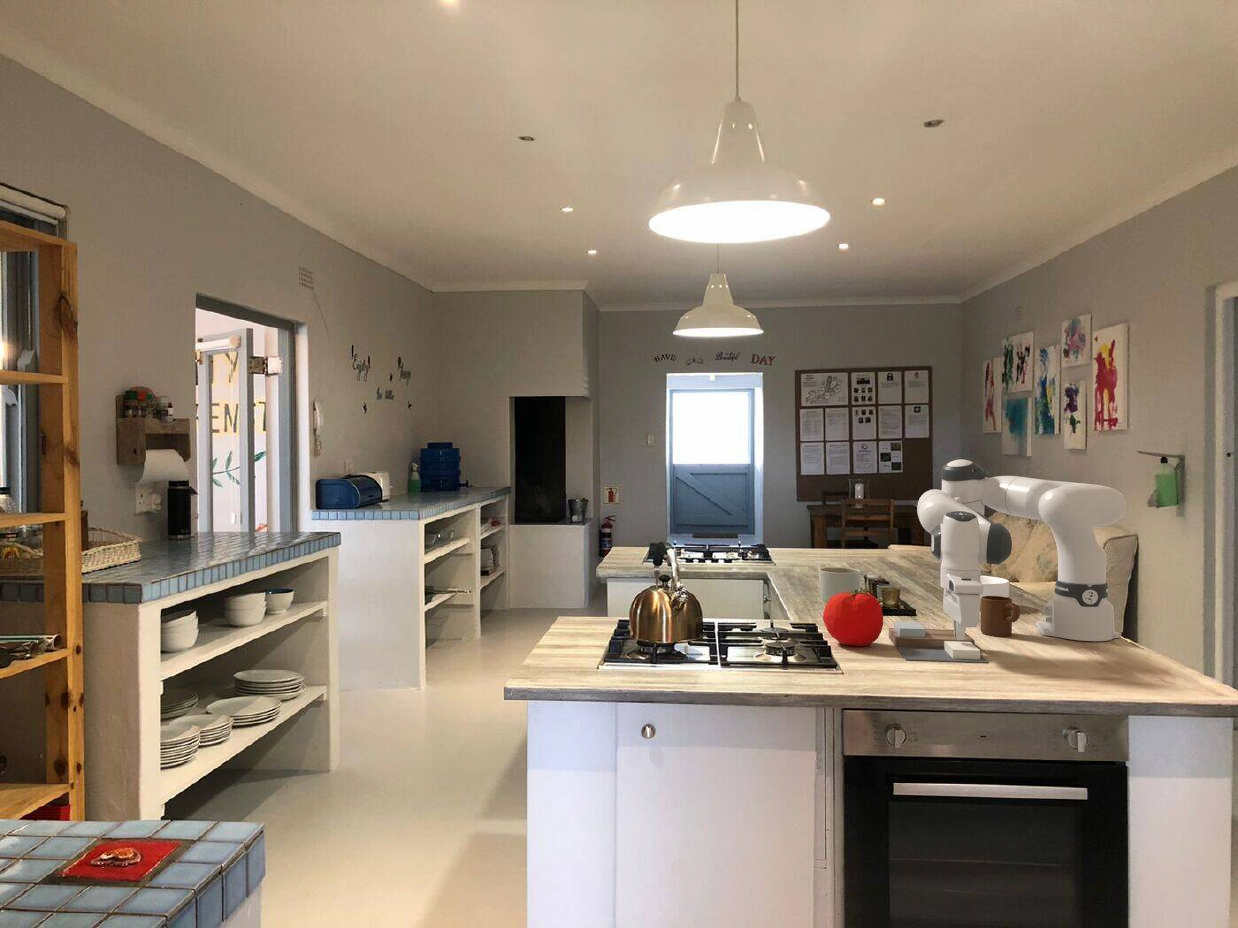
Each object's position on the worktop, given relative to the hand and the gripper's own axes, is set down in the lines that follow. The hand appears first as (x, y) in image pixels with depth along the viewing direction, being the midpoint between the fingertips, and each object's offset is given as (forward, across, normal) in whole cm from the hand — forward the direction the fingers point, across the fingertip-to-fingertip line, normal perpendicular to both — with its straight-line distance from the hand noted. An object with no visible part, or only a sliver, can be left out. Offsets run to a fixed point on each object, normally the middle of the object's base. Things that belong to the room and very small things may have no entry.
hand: (959, 638), depth 211 cm
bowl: (+4, -65, +20) cm, 68 cm away
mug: (+4, -22, +16) cm, 27 cm away
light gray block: (+1, -9, -10) cm, 14 cm away
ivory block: (+3, +2, 0) cm, 4 cm away
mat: (+3, +3, -5) cm, 7 cm away
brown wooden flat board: (+3, -9, -5) cm, 11 cm away
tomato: (+4, -6, -24) cm, 25 cm away
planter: (+4, -60, -22) cm, 64 cm away
